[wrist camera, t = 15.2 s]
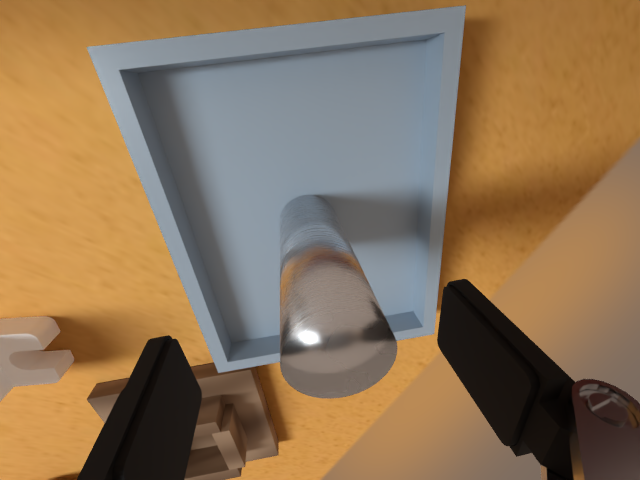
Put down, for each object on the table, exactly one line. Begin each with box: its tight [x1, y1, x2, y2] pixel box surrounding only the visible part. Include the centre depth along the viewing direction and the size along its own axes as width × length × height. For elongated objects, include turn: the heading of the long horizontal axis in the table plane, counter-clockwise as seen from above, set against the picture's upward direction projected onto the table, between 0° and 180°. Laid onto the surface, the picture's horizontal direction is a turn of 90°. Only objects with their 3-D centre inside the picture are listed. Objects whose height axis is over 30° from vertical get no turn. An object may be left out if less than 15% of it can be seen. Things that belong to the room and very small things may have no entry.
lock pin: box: [280, 195, 397, 398], centre depth 15 cm, size 4×4×12 cm
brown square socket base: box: [87, 363, 278, 480], centre depth 28 cm, size 14×14×4 cm
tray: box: [87, 6, 466, 373], centre depth 20 cm, size 22×18×3 cm
